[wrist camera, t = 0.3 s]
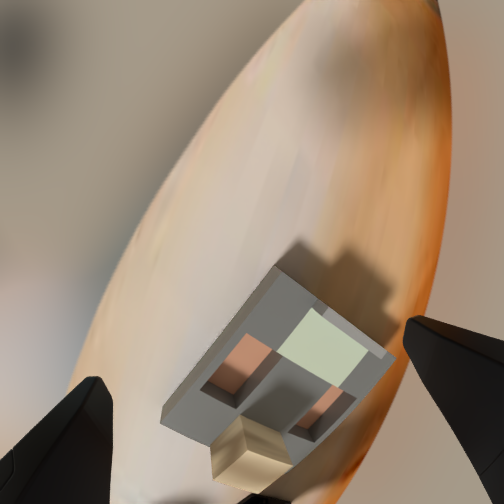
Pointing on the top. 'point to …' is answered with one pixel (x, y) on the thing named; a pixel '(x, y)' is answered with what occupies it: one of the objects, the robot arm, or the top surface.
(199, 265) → the top surface
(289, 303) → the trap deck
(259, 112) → the top surface
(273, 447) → the maple block
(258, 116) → the top surface
